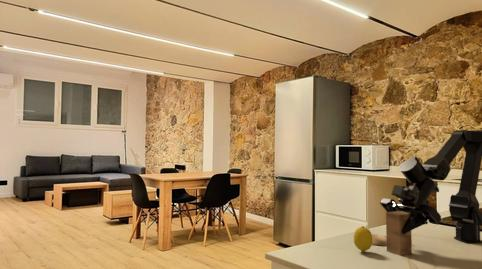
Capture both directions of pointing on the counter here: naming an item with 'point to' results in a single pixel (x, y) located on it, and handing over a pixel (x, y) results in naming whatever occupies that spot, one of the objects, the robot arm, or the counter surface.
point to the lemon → (363, 239)
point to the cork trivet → (379, 240)
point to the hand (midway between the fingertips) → (395, 231)
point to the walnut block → (398, 233)
